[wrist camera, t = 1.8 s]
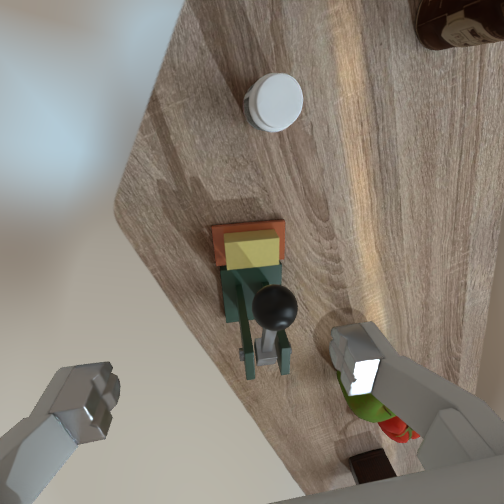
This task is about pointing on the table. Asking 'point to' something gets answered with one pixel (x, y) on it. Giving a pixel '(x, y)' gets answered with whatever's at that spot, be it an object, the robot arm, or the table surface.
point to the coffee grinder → (371, 467)
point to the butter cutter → (240, 309)
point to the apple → (366, 406)
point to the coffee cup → (459, 23)
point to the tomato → (398, 430)
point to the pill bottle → (273, 102)
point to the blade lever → (272, 319)
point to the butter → (249, 244)
